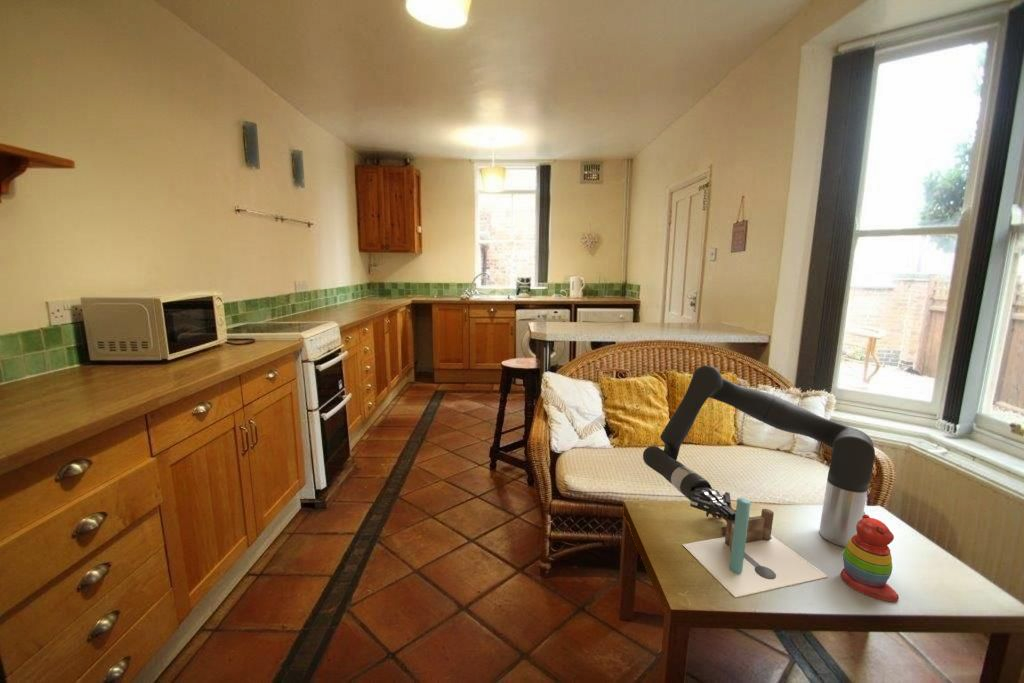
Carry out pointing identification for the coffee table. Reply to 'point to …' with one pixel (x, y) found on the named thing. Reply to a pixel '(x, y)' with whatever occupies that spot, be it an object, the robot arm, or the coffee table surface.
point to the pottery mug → (720, 517)
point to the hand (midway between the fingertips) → (733, 517)
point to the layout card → (754, 565)
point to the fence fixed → (755, 527)
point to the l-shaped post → (739, 535)
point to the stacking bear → (869, 560)
